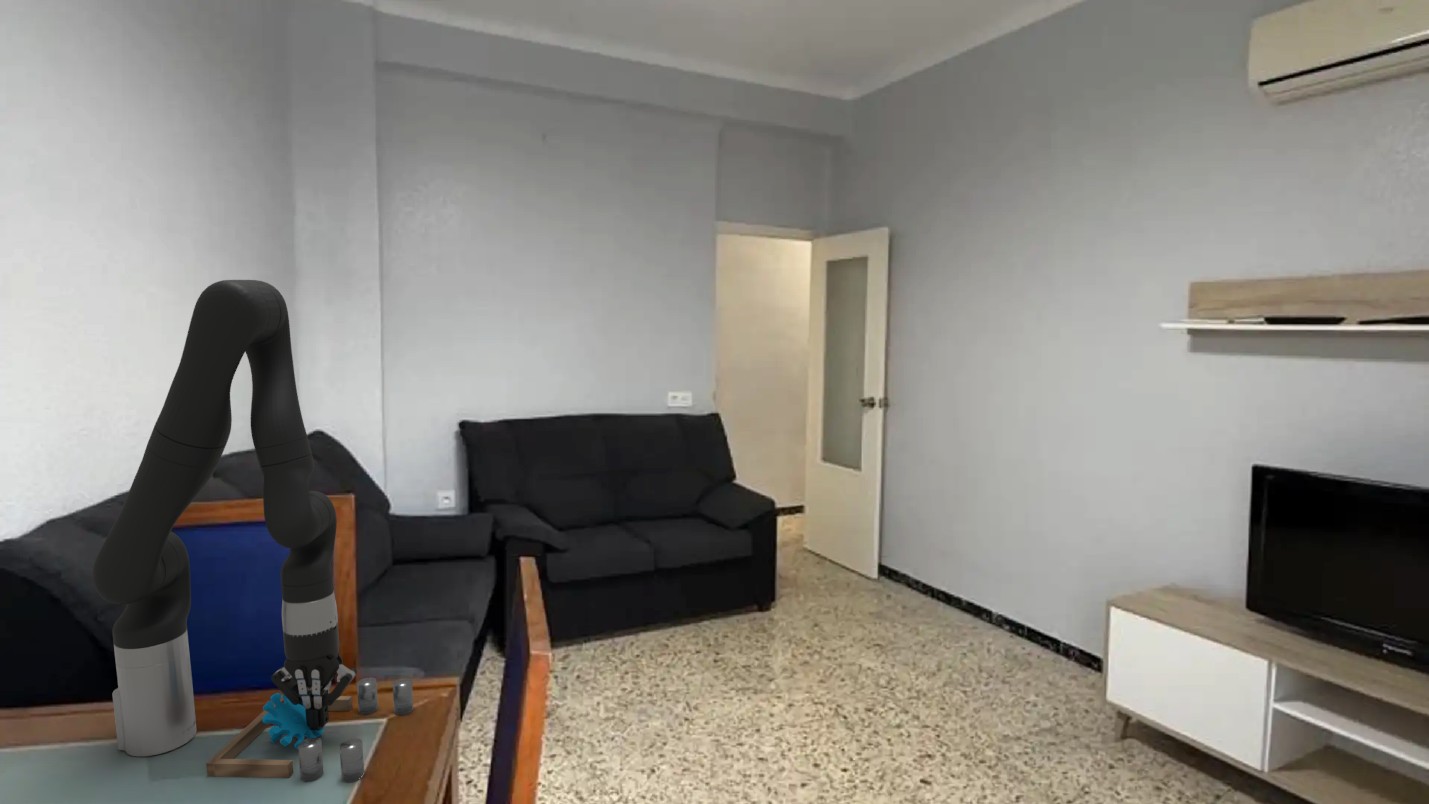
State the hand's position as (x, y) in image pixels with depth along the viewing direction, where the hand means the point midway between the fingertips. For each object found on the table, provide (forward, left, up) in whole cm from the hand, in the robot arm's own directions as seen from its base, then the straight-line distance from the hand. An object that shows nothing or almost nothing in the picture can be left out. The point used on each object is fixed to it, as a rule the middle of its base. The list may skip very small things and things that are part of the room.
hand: (318, 727), depth 124 cm
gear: (-4, 0, -2) cm, 4 cm away
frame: (-5, 0, -2) cm, 6 cm away
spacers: (+7, 0, -2) cm, 7 cm away
